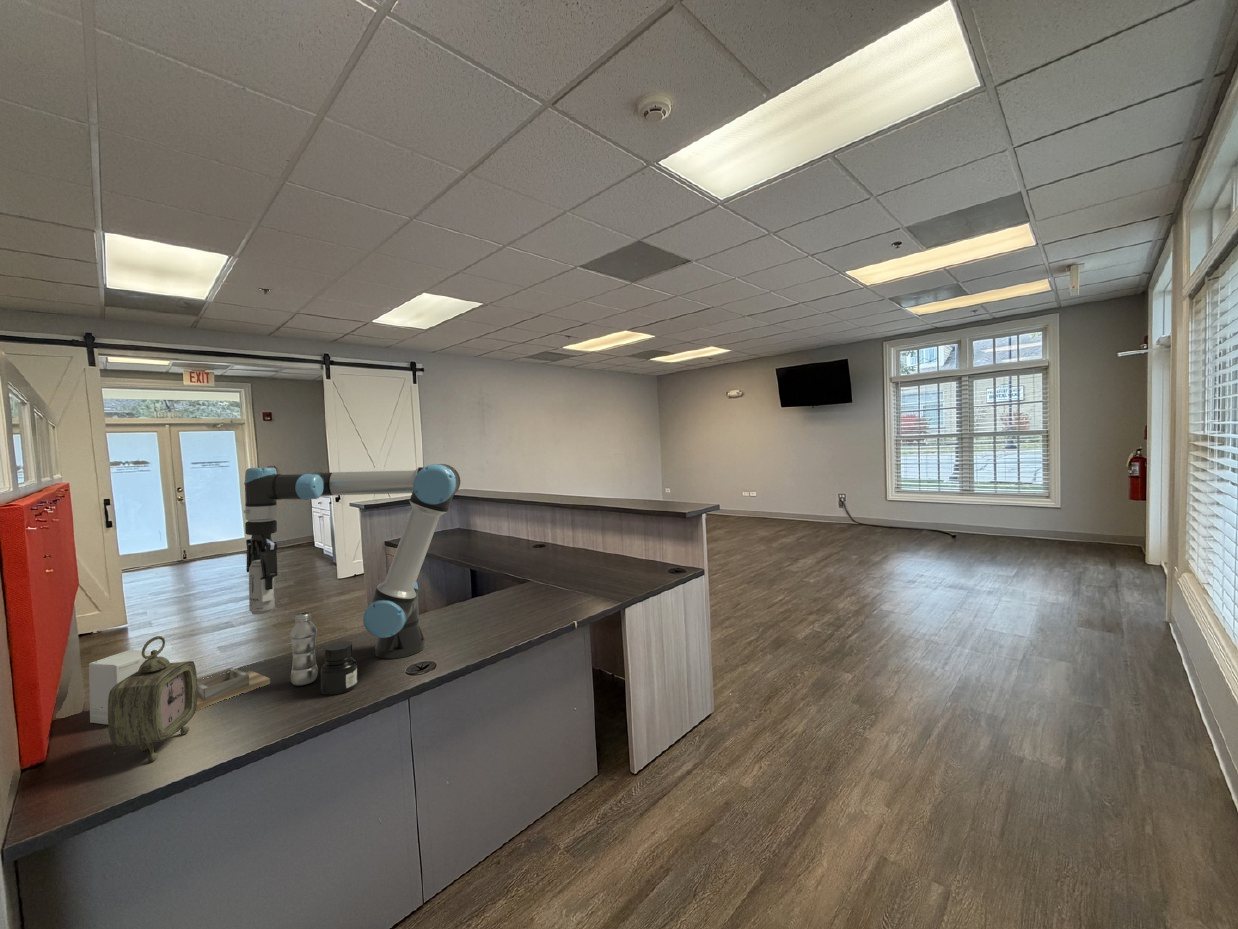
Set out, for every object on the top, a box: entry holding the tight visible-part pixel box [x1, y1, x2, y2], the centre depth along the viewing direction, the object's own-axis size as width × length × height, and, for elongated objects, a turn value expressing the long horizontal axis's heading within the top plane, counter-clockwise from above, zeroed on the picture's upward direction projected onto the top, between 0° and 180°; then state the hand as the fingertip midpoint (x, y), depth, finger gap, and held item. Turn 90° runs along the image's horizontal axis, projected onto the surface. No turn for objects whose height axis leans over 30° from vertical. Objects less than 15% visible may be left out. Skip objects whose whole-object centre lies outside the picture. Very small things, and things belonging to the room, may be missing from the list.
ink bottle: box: [320, 640, 358, 696], centre depth 139 cm, size 10×9×12 cm
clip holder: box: [195, 666, 271, 712], centre depth 137 cm, size 11×20×4 cm, turn 150°
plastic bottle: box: [289, 611, 319, 686], centre depth 142 cm, size 6×7×20 cm
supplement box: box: [88, 649, 151, 725], centre depth 126 cm, size 9×9×15 cm
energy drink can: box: [248, 560, 276, 615], centre depth 146 cm, size 6×6×15 cm
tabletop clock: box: [107, 635, 198, 762], centre depth 111 cm, size 14×9×25 cm, turn 12°
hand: (261, 598), depth 146 cm, fingers closed on energy drink can, 6 cm apart
